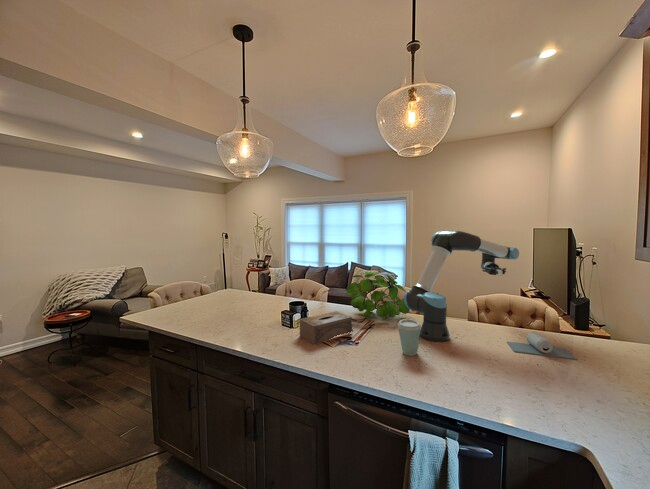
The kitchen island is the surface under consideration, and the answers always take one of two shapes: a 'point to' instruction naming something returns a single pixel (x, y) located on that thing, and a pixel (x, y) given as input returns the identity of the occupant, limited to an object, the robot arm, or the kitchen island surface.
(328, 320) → the tissue box cover
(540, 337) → the beverage can
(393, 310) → the indoor plant
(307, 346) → the kitchen island surface
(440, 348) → the kitchen island surface
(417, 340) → the disposable coffee cup
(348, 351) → the kitchen island surface
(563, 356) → the blue-grey rectangular board
